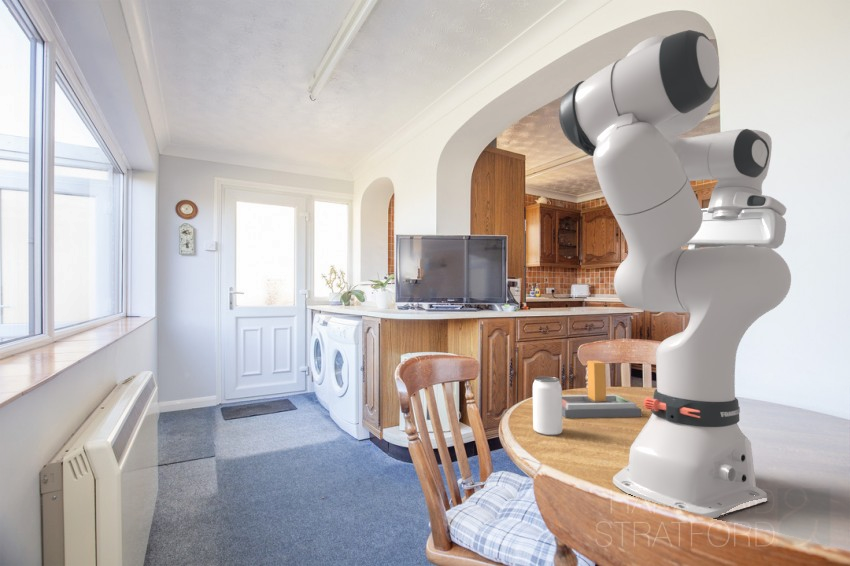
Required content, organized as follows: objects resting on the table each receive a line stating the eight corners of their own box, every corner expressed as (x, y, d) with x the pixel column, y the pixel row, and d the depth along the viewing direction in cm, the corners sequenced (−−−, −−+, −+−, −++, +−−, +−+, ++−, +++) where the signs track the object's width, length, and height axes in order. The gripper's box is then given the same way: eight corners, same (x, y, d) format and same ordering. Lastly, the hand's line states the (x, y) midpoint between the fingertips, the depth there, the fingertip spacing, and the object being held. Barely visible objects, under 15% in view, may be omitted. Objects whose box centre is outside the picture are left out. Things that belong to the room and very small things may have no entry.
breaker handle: (600, 399, 110) (599, 360, 111) (611, 405, 104) (610, 363, 105) (583, 400, 110) (582, 360, 110) (593, 405, 104) (592, 363, 104)
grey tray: (618, 405, 113) (618, 393, 113) (641, 416, 102) (641, 404, 102) (549, 406, 112) (549, 394, 112) (565, 418, 101) (565, 405, 101)
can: (565, 429, 92) (564, 377, 93) (558, 438, 87) (557, 382, 87) (537, 425, 96) (537, 375, 96) (529, 432, 90) (528, 379, 91)
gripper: (677, 204, 96) (662, 259, 96) (782, 197, 77) (764, 264, 77) (692, 213, 99) (678, 266, 98) (796, 207, 80) (779, 273, 80)
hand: (716, 266), depth 88 cm, fingers open, 8 cm apart
